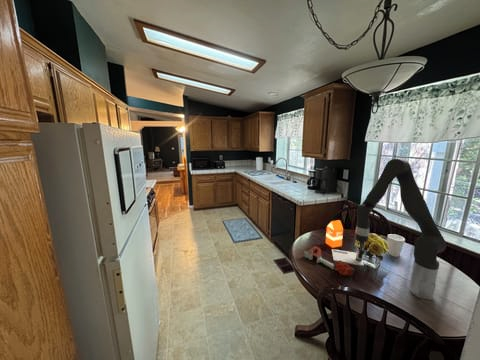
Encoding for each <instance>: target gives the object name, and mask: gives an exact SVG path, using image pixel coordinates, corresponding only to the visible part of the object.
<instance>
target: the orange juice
mask: <svg viewBox="0 0 480 360" xmlns="http://www.w3.org/2000/svg"><path fill="white" fill-rule="evenodd" d="M325 232H326V233H325V244H326V245H328V246H329V247H330V248H331V249H335V248H338V247H343V246H342V245H343V236H344V235H343V234H344V227H343V224H342V221H341V220H340V219H337V220H332V221H330V222H329V223H328V224H327V226H326V231H325Z"/></svg>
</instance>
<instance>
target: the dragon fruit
mask: <svg viewBox="0 0 480 360" xmlns="http://www.w3.org/2000/svg"><path fill="white" fill-rule="evenodd" d="M333 264H334V269H333V270H335V271H337V272H338V273H339V275H340V276H342V275H343V276H344V277H350V276H351V275H353V274H354V273H356V271H355V268H354V267H351V266H350V264H349V263H345V262H342V261H340V260H339V261H334V263H333Z"/></svg>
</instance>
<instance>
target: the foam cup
mask: <svg viewBox="0 0 480 360" xmlns="http://www.w3.org/2000/svg"><path fill="white" fill-rule="evenodd" d="M405 242H406V239H405V237H403V236H401V235H399V234H395V233H394V234H392V233H390V234H387V247H388V246H389V252H388V251H387V253H388V254H389V255H390V256H392V257H396V258H397V257H400V255H401V252H402V250H403V248H404V247H403V246H404V245H405Z"/></svg>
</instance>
